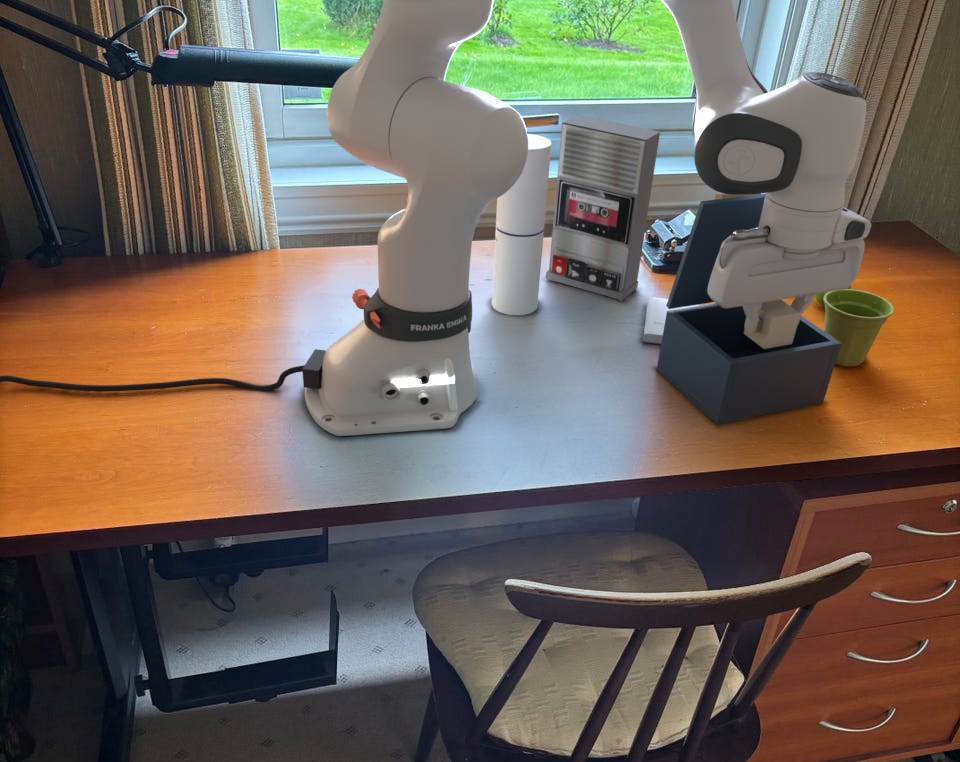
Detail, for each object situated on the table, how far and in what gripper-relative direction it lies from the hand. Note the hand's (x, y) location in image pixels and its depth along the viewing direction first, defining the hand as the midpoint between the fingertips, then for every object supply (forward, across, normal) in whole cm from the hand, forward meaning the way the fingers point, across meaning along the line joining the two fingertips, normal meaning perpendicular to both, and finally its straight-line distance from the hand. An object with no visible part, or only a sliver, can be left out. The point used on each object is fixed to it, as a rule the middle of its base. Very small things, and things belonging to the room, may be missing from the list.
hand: (771, 327), depth 116 cm
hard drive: (+11, 0, +21) cm, 24 cm away
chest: (+11, 0, +3) cm, 11 cm away
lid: (-7, 0, +9) cm, 11 cm away
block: (+2, 0, 0) cm, 2 cm away
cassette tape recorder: (+11, -4, +38) cm, 40 cm away
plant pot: (+11, +19, +5) cm, 23 cm away
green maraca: (+11, +28, +19) cm, 36 cm away
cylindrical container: (+11, -20, +35) cm, 42 cm away
